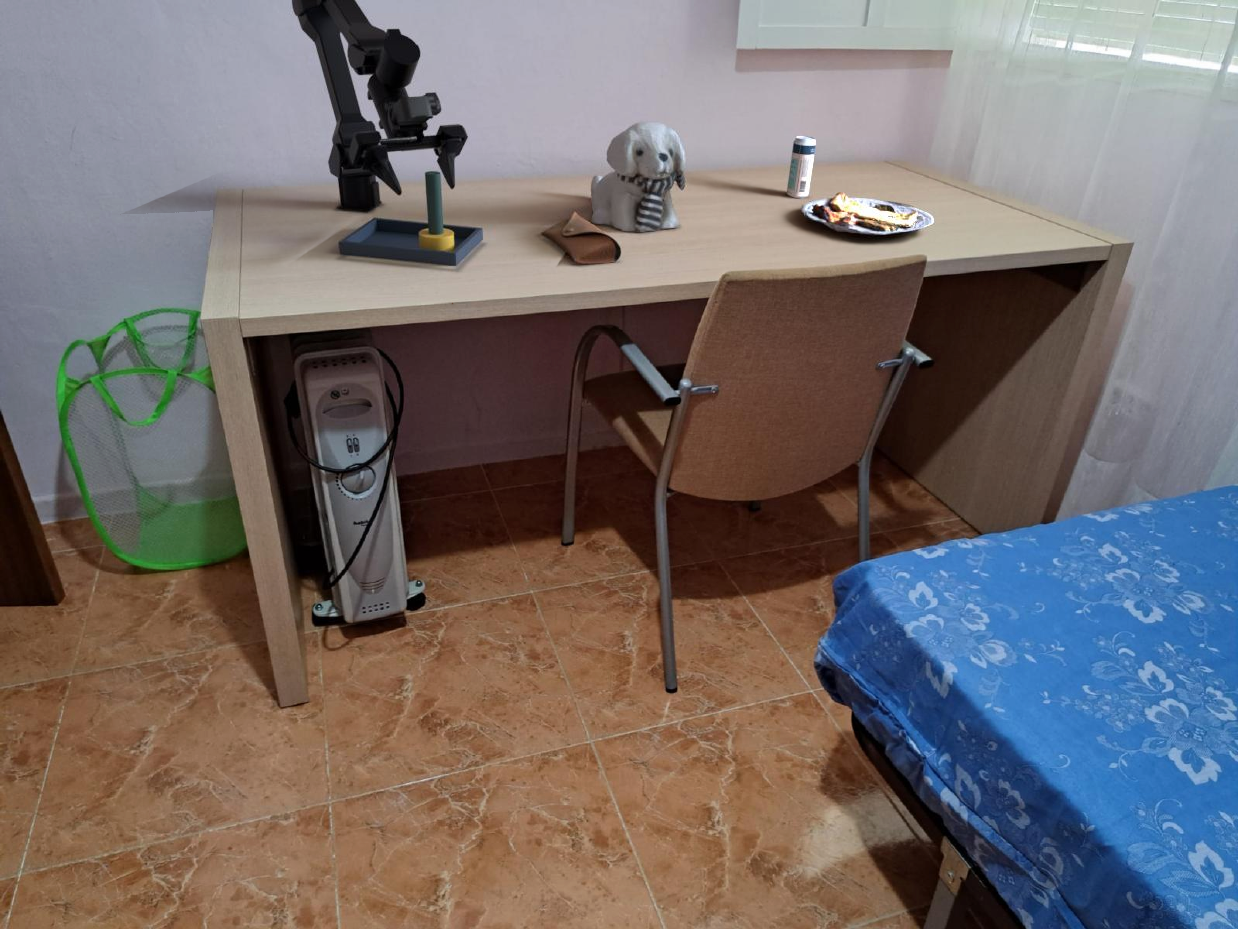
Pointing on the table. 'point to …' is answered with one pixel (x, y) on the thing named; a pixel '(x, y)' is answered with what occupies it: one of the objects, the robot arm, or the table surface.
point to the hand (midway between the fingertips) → (427, 190)
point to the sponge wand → (435, 217)
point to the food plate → (865, 215)
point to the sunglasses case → (583, 241)
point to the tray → (407, 242)
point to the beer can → (801, 166)
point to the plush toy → (640, 179)
